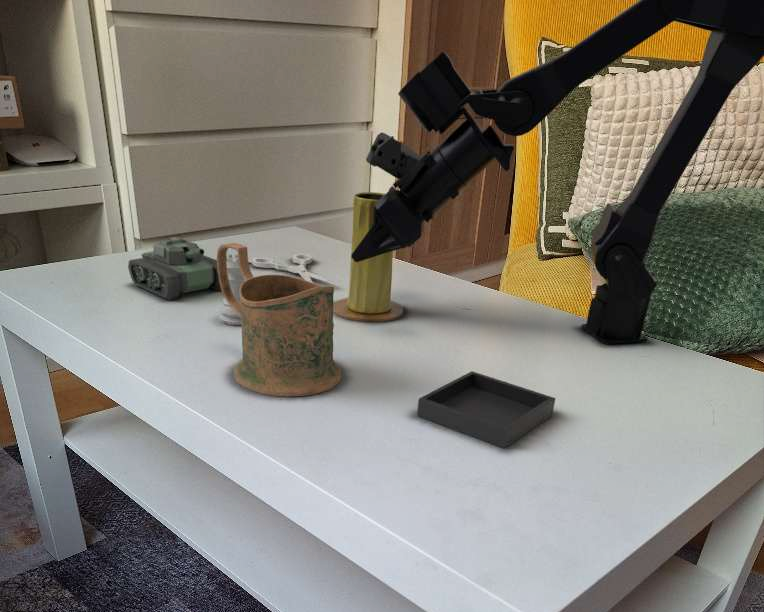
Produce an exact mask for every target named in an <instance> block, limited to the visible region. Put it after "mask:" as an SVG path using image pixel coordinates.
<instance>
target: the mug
mask: <svg viewBox="0 0 764 612" xmlns="http://www.w3.org/2000/svg"><path fill="white" fill-rule="evenodd" d="M229 249H232V250H235V251H236V252H237V254H238V260H239V266H240V270H241V273H242V276H243V278H244V279H245V281H244V282H243V283H242V284H241V286H240V289H239V294H240V303H239V302H238V301H237V300H236V298H235V297H234V295H233V293H232V291H231V288H230V284H229V280H228V274H227V263H226V255H227V253H228V250H229ZM248 253H249V252H248V247H247V246H246V245H243V244H240V243H235V242H231V243H223V244H221V245H220V246H219V247H218V249H217V252H216V260H217V269H218V277H219V282H220V287H221V290H220V291H221V293H222V295H223V298H224V297H225V299H226V301H227V302H228V303H229V305H230V306H231V307H232V308H233V309H234V310H235V311H236V312H237V313H238V315H239V316H240V318H241V325H240V326H241V349H242V359H241V360H240V361H239V362H238V363H237V364H236V366H235V368H234V378H235V380H236V382H237V383H238V385H240V386H241V387H243V388H244V389H247V390H249V391H252V392H254V393H258V394H262V395H266V396H274V397H305V396H311V395H316V394H320V393H324V392H327V391H330V390H331V389H332V388H335V386H337V385H338V384H339V383H340V381H341V379H342V370H341V368H340V365H338V364H337V363H336V361H335V360H334V326H335V323H334V311H333V305H334V293H335V287H334V286H326V285H321V284H319V283H316V282H315V283H314V282H313V281H312V282H313V283H312V282H309V281H306V280H304V279H303V278H299V277H294V276H291V275H287V274H286V275H285V274H263V275H257V276H256V275H255V276H254V274H253V273H252V271H251V268H250V262H248V257H249V256H248Z"/></svg>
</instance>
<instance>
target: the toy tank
mask: <svg viewBox="0 0 764 612" xmlns="http://www.w3.org/2000/svg"><path fill="white" fill-rule="evenodd" d="M204 254H205V250H204V249H203V248H200V246H199V245H198V244H197V243H195V242H192V241H189V240H187V239H184V238H181V237H170V236H168V237H167V238H165V239H163V240H161V241H160V242H157V243H156V244H154V245H153V251H147V252H143V253H141V258H133V259H129V260H128V265H127V268H128V272H129V276H130V279H131V280H132V283H133V284H134V285H135V286H137V287H139V288H142V289H143V290H146V291H149V292H151V293H152V294H155V295H156V296H159V297H161V298H164V299H166V300H168V301H174V300H177V299H178V297H179V295H180V293H183V294H185V293H190V292H195V291H200V290H201V291H202V290H206V289H208V288H211V289H213V290H215V291H222V290H221V287H220V282H219V277H218V269H217V259H215V258H212V257H211V256H207V255H204Z"/></svg>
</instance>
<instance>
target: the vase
mask: <svg viewBox="0 0 764 612" xmlns="http://www.w3.org/2000/svg"><path fill="white" fill-rule="evenodd" d="M385 194H386V193H382V192H371V191H367V192H364V191H363V192H356V193H354V195H353V205H352V237H351V251H350V269H349V287H348V290H349V291H348V296H347V298H348V301H347V306H348V308H349V309H351V310H352V311H355V312H358V313H364V314H381V313H385V312H388V311H389V310H391V308H392V306H391V301H392V300H391V294H392V293H391V292H392V280H393V259H394V257H393V256H394V255H393V254H394V251H391V252H388V253H384V254H381V255H378V256H375V257H372V258H369V259H366V260H363V261H360V262H355V261H354V260H353V259H352V257H351V255H352V253H353V252H354V250H355V249H356V248H357V246H358V245H359V244H360V242H361V241H362V240H363V238H364V237H365V235H366V234H367V233H368V231H369V230H370V229H371V227H372V226H373V224H374V212H373V208H374V206H375V204H376V203H377V202H378V201H379V200H380V199H381V198H382V197H383V196H384V195H385Z"/></svg>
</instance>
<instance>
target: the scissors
mask: <svg viewBox="0 0 764 612" xmlns="http://www.w3.org/2000/svg"><path fill="white" fill-rule="evenodd" d="M292 262H293V263H294V264H298V265H297V266H295V265H287V264H286V265H285V264H280V263H277V262H275V260H274V259H272V258H268V257H267V258H266V257H251V256H248V263H249V264H250V263H251V265H252V266H253V267H256V268H257V267H258V268H265V269H266V268H267V269H268V268H271V269H276V270H281V271H288V272H290V273H293V274H298V275H300V276H301V278H302V279H303V280H306V281H309V282H312V283H314V282H313V280H312V278H313V279H316V280H320V281H323V282H326V283H329V284H332V285H335V286H339V287H340V285H339V284H337V283H335V282H333V281H331V280H329V279H326V278H325V277H322V276H320V275H317V274H315V273H312V272H311V271H308V270H307V269H306V267H307V264H308V265H309V264H311V263H312V262H313V259H312V256H311V255H309V254H304V253H300V254H294V255H293V256H292Z"/></svg>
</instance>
